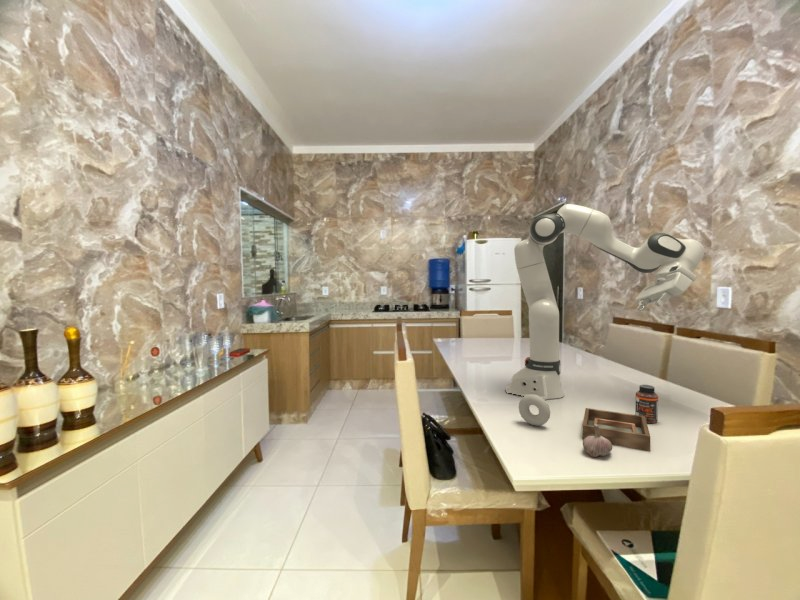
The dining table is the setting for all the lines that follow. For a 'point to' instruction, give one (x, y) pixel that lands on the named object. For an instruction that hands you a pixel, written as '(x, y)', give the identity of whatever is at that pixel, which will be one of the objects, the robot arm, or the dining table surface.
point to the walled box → (618, 428)
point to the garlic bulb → (597, 444)
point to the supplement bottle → (647, 403)
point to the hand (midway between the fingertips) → (648, 307)
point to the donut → (540, 404)
